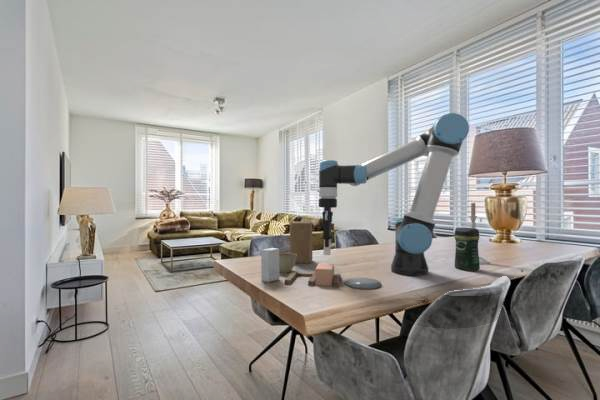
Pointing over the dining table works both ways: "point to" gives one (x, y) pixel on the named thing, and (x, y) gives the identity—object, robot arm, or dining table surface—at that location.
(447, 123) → the robot arm
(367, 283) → the plate
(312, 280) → the rack
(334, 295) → the dining table surface
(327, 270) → the block
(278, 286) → the dining table surface
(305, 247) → the wooden block
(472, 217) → the candlestick
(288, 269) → the flower pot
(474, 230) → the coffee jar
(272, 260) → the skincare box
